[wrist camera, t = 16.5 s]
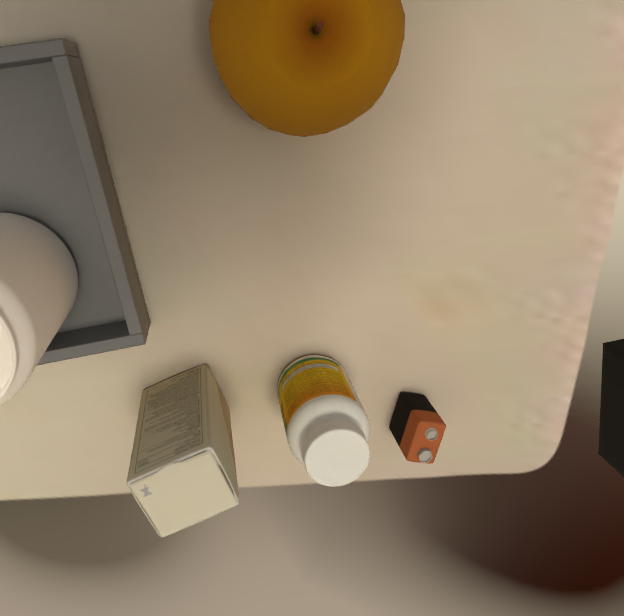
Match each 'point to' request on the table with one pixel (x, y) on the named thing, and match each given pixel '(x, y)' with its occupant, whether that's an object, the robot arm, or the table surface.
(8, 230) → the beverage can
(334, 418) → the supplement bottle
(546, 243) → the table surface
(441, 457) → the table surface
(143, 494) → the box
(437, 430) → the battery
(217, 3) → the apple
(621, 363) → the robot arm
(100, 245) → the tray
